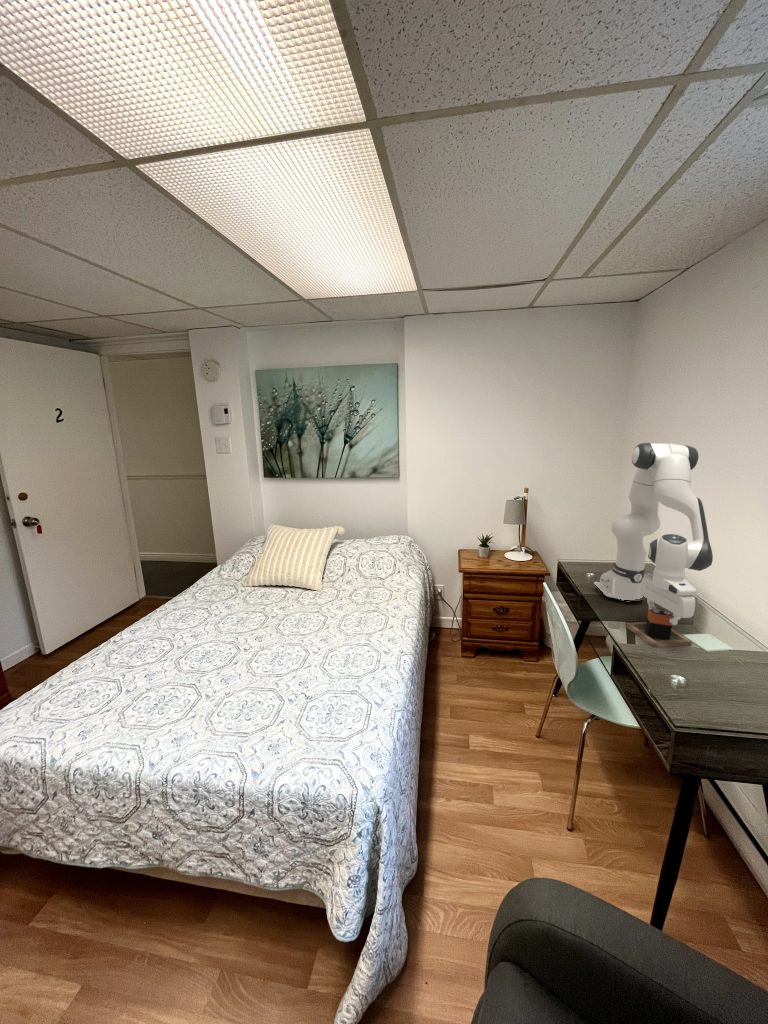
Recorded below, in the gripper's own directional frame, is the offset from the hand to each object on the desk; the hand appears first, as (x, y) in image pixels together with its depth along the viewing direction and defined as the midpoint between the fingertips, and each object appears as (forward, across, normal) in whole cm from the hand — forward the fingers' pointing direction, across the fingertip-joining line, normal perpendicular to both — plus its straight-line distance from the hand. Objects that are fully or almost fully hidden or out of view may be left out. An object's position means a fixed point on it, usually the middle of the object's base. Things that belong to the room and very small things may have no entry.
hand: (662, 617), depth 140 cm
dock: (+7, -1, 0) cm, 7 cm away
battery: (+8, -1, 0) cm, 8 cm away
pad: (+8, +6, +14) cm, 16 cm away
